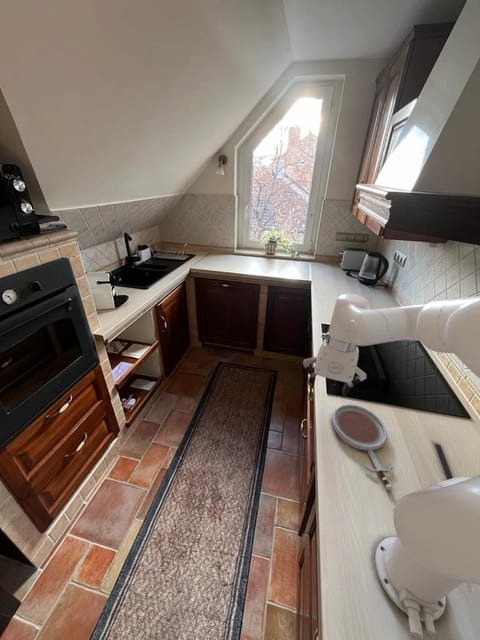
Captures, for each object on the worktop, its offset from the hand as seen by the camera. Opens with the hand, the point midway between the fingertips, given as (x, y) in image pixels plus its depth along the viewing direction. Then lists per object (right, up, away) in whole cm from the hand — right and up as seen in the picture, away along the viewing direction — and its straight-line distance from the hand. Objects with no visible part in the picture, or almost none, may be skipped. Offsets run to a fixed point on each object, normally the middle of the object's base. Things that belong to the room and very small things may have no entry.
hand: (327, 389), depth 75 cm
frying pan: (+13, -19, +5) cm, 24 cm away
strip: (+35, -22, +1) cm, 41 cm away
